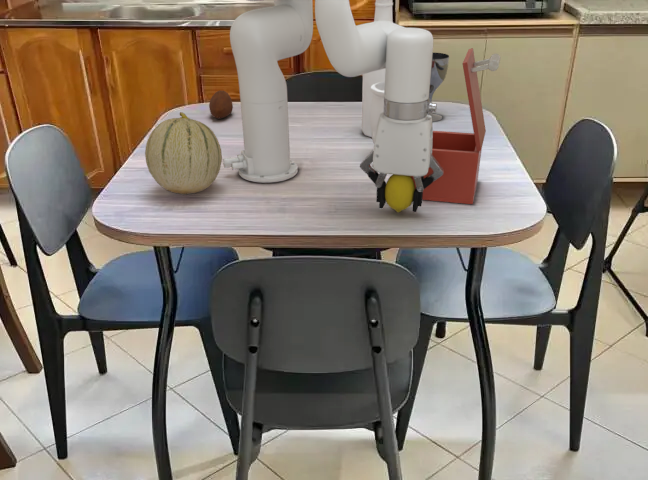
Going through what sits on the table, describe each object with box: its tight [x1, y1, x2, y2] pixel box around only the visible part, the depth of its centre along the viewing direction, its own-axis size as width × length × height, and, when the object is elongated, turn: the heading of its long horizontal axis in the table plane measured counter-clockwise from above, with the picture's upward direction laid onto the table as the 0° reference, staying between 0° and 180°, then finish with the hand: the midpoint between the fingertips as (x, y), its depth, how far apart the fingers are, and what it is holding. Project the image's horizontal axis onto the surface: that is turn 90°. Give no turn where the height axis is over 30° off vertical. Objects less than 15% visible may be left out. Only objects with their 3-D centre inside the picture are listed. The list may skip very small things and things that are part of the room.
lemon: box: [385, 174, 415, 213], centre depth 124 cm, size 6×6×8 cm
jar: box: [370, 82, 385, 145], centre depth 148 cm, size 11×10×15 cm
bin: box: [411, 130, 483, 205], centre depth 133 cm, size 15×12×10 cm
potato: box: [208, 90, 234, 119], centre depth 178 cm, size 6×12×6 cm, turn 179°
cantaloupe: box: [144, 111, 223, 195], centre depth 133 cm, size 15×15×15 cm
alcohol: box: [361, 0, 394, 138], centre depth 158 cm, size 9×9×30 cm
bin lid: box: [462, 47, 501, 152], centre depth 123 cm, size 16×12×6 cm
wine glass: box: [427, 52, 450, 122], centre depth 172 cm, size 8×8×15 cm
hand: (398, 206), depth 126 cm, fingers closed on lemon, 5 cm apart
